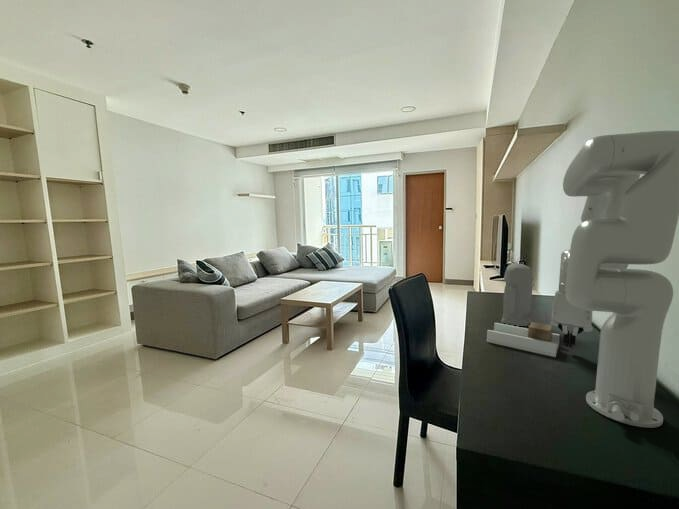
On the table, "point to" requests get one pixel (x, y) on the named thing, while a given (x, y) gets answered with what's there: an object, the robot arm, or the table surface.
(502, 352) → the table surface
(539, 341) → the chute
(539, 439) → the table surface
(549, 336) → the walnut block
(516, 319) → the unidentifiable
